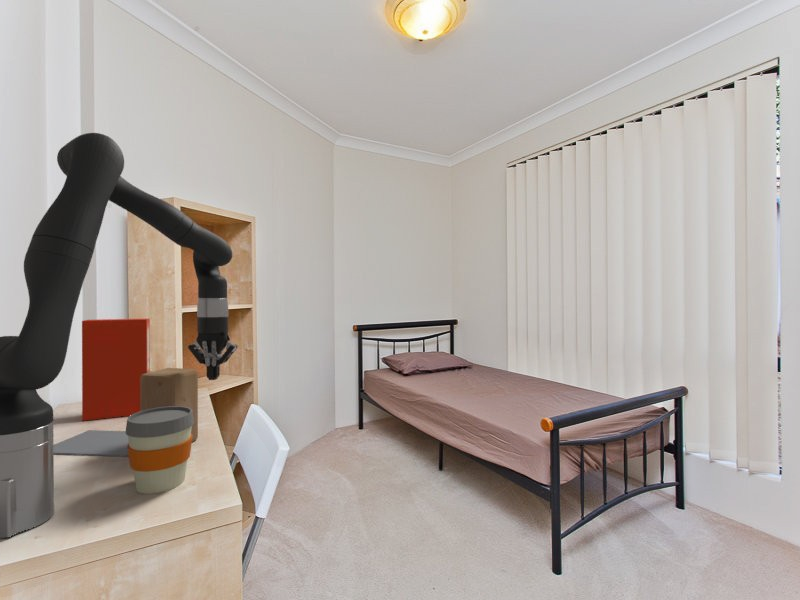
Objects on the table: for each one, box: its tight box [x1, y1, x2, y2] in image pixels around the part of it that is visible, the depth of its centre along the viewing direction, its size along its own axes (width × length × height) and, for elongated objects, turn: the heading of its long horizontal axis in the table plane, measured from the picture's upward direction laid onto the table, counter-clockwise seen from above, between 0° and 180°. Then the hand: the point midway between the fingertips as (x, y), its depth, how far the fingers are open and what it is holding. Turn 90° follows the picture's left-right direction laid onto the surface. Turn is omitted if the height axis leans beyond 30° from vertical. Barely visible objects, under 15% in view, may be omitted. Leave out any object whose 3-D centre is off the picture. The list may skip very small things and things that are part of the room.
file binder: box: [81, 318, 151, 422], centre depth 131 cm, size 8×17×32 cm, turn 116°
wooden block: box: [140, 367, 199, 443], centre depth 105 cm, size 10×10×20 cm
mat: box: [53, 429, 129, 457], centre depth 106 cm, size 16×24×1 cm, turn 87°
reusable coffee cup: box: [125, 406, 194, 495], centre depth 84 cm, size 13×13×15 cm
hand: (213, 379), depth 104 cm, fingers closed
